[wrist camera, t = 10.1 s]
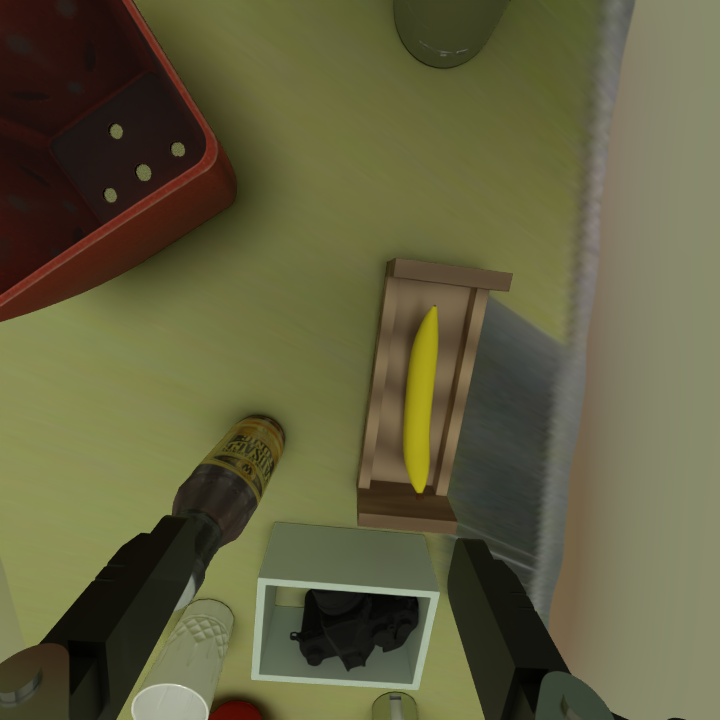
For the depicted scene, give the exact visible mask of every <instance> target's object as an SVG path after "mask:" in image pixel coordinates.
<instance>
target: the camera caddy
mask: <svg viewBox="0 0 720 720" xmlns="http://www.w3.org/2000/svg"><path fill="white" fill-rule="evenodd" d="M276 586H287V587H299V588H312V589H325V590H338V591H351V592H364V593H377V594H390V595H403V596H416V597H417V601H418V605H419V609H417V610H418V625H417V627H416V628H415V629H414V630H413V631H412V632H411V633H410V635H409V636H408V638H407V640H406V641H405V643H404V644H403V646H401V647H399V648H397V649H395V650H392V651H389V652H385V653H383V650H382V648H383V647H379V646H377V645H375V648H374V650H373V651H372V653H371V654H370V656H369V657H368V659H367V660H366V663H365V664H366V666H365V667H362V666H359V667H355V668H352V669H350V671H349V672H347V670H346V668H345V666H344V664H343V662H342V661H341V659H340V658H339V656H335V657H332V658H327V659H323V661H322V663H321V664H320V665H318V666H311V665H308V663H307V660H306V658H305V657H304V656H303V655H302V653H301V651H300V649H299V642H297V641H296V640H294V641H293V640H291V639H290V633H291V632H298V633H299V632H301V627H302V620H303V613H304V608H299V607H285V606H275V598H276ZM439 594H440V591H439V587H438V584H437V580H436V577H435V573H434V570H433V566H432V563H431V559H430V556H429V552H428V549H427V545H426V542H425V538H424V535H417V534H406V533H395V532H383V531H372V530H360V529H349V528H338V527H326V526H315V525H303V524H292V523H281V522H275V525H274V528H273V531H272V534H271V538H270V541H269V544H268V547H267V550H266V554H265V557H264V560H263V563H262V567H261V570H260V573H259V576H258V586H257V601H256V616H255V630H254V645H253V660H252V674H251V680H265V681H281V682H297V683H313V684H330V685H346V686H362V687H378V688H394V689H410V690H418V689H419V685H420V680H421V676H422V671H423V666H424V662H425V657H426V653H427V648H428V644H429V639H430V635H431V630H432V626H433V621H434V617H435V612H436V607H437V603H438V598H439ZM292 635H293V636H296V633H295V634H292Z"/></svg>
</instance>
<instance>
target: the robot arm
mask: <svg viewBox="0 0 720 720" xmlns="http://www.w3.org/2000/svg"><path fill="white" fill-rule="evenodd" d="M510 1H511V0H394V18H395V22H396V27H397V30H398V33H399V35H400V37H401V40H402V42H403V43H404V45H405V46H406V48H407V49H408V50H409V52H410V53H412V54H413V55H414V56H415V57H416V58H417V59H418V60H420V61H422V62H423V63H425V64H427V65H431V66H434V67H442V68H448V67H453V66H458V65H460V64H462V63H464V62H466V61H468V60H469V59H471V58H472V57H473V56H474V55H476V54H477V53H478V52H479V51H480V49H481V48H482V47H483V46H484V45H485V43H486V41H487V40H488V38H489V36H490V34H491V33H492V31H493V29H494V28H495V26H496V24H497V22H498V21H499V19H500V17H501V16H502V14H503V12H504V10H505V9H506V7H507V6H508V4H509V2H510ZM194 560H195V535H194V518H193V517H187V516H174V515H165V516H164V517H163V518H162V519H161V520H160V521H159V523H158V524H157V525H156V527H155V528H154V529H153V531H152V532H151V533H140V534H139V535H137V536H136V537H134V538H133V539H132V540H130V541H129V542H127V543H126V544H124V545H123V546H122V547H121V548H120V549H119V550H118V551H117V553H116V554H115V555H114V556H113V557H112V558H111V560H110V561H109V562H108V564H107V566H106V567H104V568H103V569H102V570H101V571H100V573H99V574H98V575H97V576H96V577H95V580H94V581H92V582H91V583H90V584H89V586H88V587H87V588H86V589H85V590H84V592H83V593H82V594H81V595H80V596H79V598H78V599H77V600H76V601H75V602H74V603H73V605H72V606H71V607H70V608H69V609H68V611H67V612H66V613H65V614H64V615H63V616H62V618H61V619H60V620H59V621H58V622H57V624H56V625H55V626H54V627H53V628H52V629H51V631H50V632H49V633H48V634H47V635H46V637H45V638H44V639H43V640H42V641H41V642H40V643H39V644H38V645H36V646H32V647H30V648H27V649H25V650H22V651H20V652H18V653H16V654H14V655H13V656H11V657H10V658H8V659H6V660H5V661H3V662H2V663H1V664H0V720H116V719H117V717H118V715H119V713H120V711H121V709H122V708H123V706H124V704H125V702H126V700H127V698H128V696H129V694H130V692H131V691H132V689H133V687H134V685H135V683H136V681H137V679H138V677H139V675H140V673H141V672H142V670H143V668H144V666H145V664H146V662H147V660H148V658H149V656H150V655H151V653H152V651H153V649H154V647H155V645H156V643H157V641H158V639H159V638H160V636H161V634H162V632H163V630H164V628H165V626H166V624H167V622H168V620H169V619H170V617H171V615H172V613H173V611H174V609H175V607H176V605H177V603H178V602H179V600H180V598H181V596H182V594H183V592H184V590H185V588H186V586H187V584H188V582H189V580H190V577H191V574H192V571H193V567H194ZM448 596H449V601H450V605H451V608H452V611H453V615H454V618H455V621H456V625H457V628H458V631H459V635H460V638H461V641H462V645H463V648H464V651H465V654H466V658H467V661H468V664H469V668H470V671H471V674H472V678H473V681H474V684H475V688H476V691H477V694H478V697H479V701H480V704H481V707H482V711H483V714H484V717H485V720H628V719H626V718H623V717H621V716H619V715H616V714H614V713H612V712H611V711H610V710H609V708H608V707H607V705H606V704H605V702H604V701H603V700H602V699H601V698H600V697H599V696H598V694H597V693H596V692H595V691H594V690H593V689H592V688H591V687H589V686H588V685H587V684H586V683H584V682H583V681H582V680H580V679H578V678H576V677H575V676H573V675H572V674H571V673H570V671H569V669H568V668H567V666H566V664H565V662H564V661H563V659H562V657H561V655H560V653H559V652H558V649H557V648H556V646H555V644H554V642H553V641H552V639H551V637H550V635H549V633H548V631H547V630H546V628H545V626H544V624H543V622H542V620H541V619H540V617H539V615H538V613H537V611H535V610H534V606H533V604H532V602H531V601H530V599H529V597H528V596H526V592H525V590H524V588H523V586H522V584H521V582H520V581H519V579H518V577H517V575H516V574H515V573H514V572H513V571H512V570H511V569H510V568H509V567H508V566H507V565H506V564H505V563H504V562H503V561H502V560H494V559H493V557H492V555H491V553H490V551H489V549H488V547H487V545H486V543H485V542H484V541H483V540H480V539H466V538H458V539H457V540H456V543H455V547H454V552H453V556H452V561H451V566H450V571H449V575H448ZM668 720H685V719H680V718H671V719H668Z"/></svg>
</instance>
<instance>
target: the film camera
mask: <svg viewBox="0 0 720 720" xmlns="http://www.w3.org/2000/svg"><path fill="white" fill-rule="evenodd" d="M417 609H419V605H418V601H417V597H416V596H403V595H390V594H377V593H364V592H351V591H338V590H325V589H312V588H311V590H309V591H308V593H307V595H306V598H305V606H304V613H303V620H302V627H301V632H299V633H298V632H291V633H290V639H291V640H293V641H294V640H296V641H297V642H299V649H300V651H301V653H302V655H303V656H304V657H305V658H306V660H307V663H308V665H311V666H318V665H320V664H321V663H322V661H323V659H327V658H332V657H335V656H339V658H340V659H341V661H342V662H343V664H344V666H345V668H346V670H347V672H349V671H350V669H352V668H355V667H359V666H362V667H365V666H366V664H365V663H366V660H367V659H368V657H369V656H370V654H371V653H372V651H373V650H374V648H375V645H377V646H379V647H383V648H382V650H383V653H385V652H389V651H392V650H395V649H397V648H399V647H401V646H403V644H404V643H405V641H406V640H407V638H408V636H409V635H410V633H411V632H412V631H413V630H414V629H415V628H416V627H417V625H418V610H417ZM295 633H296V636H293V635H292V634H295Z"/></svg>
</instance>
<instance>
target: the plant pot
mask: <svg viewBox="0 0 720 720" xmlns="http://www.w3.org/2000/svg"><path fill="white" fill-rule="evenodd" d="M112 123H117V124H119V125H120V126H121V127H122V130H123V134H122V137H121V138H119V139H115V138H113V137H111V136H110V135H109V133H108V127H109V126H110V124H112ZM175 141H178V142H181V143H182V144H183V145H184V147H185V154H184V155H183V156H181V157H179V156H176V157H175V156H173V155H172V153H171V152H170V145H171V144H172V143H173V142H175ZM139 163H144V164H146V165H147V166H149V168H150V170H151V173H152V174H151V178H150V179H149V180H148V181H141V180H139V179H138V178H137V177H136V175H135V172H134V171H135V167H136V166H137V165H138V164H139ZM107 187H111V188H113V189H114V190H115V192H116V194H117V199H116V201H115V202H112V203H109V202H107V201H106V200H105V199H104V198H103V195H102V193H103V190H104V189H105V188H107ZM236 193H237V181H236V176H235V173H234V170H233V168H232V165H231V163H230V161H229V159H228V157H227V155H226V153H225V151H224V149H223V147H222V146H221V144H220V142H219V141H218V139H217V137H216V136H215V134H214V132H213V131H212V129H211V127H210V126H209V124H208V123H207V121H206V119H205V118H204V116H203V114H202V113H201V111H200V110H199V108H198V106H197V105H196V103H195V102H194V100H193V98H192V97H191V95H190V93H189V92H188V90H187V88H186V87H185V85H184V84H183V82H182V80H181V79H180V77H179V75H178V74H177V72H176V70H175V69H174V67H173V65H172V64H171V62H170V60H169V59H168V57H167V56H166V54H165V52H164V51H163V49H162V47H161V46H160V44H159V42H158V41H157V39H156V37H155V36H154V34H153V33H152V31H151V29H150V28H149V26H148V24H147V23H146V21H145V19H144V18H143V16H142V15H141V13H140V11H139V10H138V8H137V6H136V5H135V3H134V1H133V0H0V322H2V321H5V320H8V319H12V318H15V317H18V316H21V315H25V314H28V313H31V312H34V311H37V310H39V309H42V308H45V307H48V306H50V305H53V304H56V303H58V302H61V301H63V300H66V299H69V298H71V297H74V296H76V295H79V294H81V293H83V292H85V291H88V290H90V289H92V288H94V287H97V286H99V285H101V284H103V283H105V282H107V281H109V280H111V279H113V278H115V277H117V276H119V275H121V274H122V273H124V272H126V271H128V270H130V269H132V268H133V267H135V266H137V265H138V264H140V263H142V262H143V261H145V260H146V259H148V258H150V257H151V256H153V255H154V254H156V253H157V252H159V251H161V250H162V249H164V248H165V247H167V246H168V245H170V244H171V243H173V242H175V241H176V240H178V239H179V238H181V237H182V236H184V235H186V234H187V233H189V232H190V231H192V230H193V229H195V228H196V227H198V226H200V225H201V224H203V223H204V222H206V221H207V220H209V219H210V218H212V217H214V216H215V215H217V214H218V213H220V212H221V211H223V210H225V209H226V208H228V207H229V206H230V205H231V204H232V203H233V202H234V200H235V197H236Z"/></svg>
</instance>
